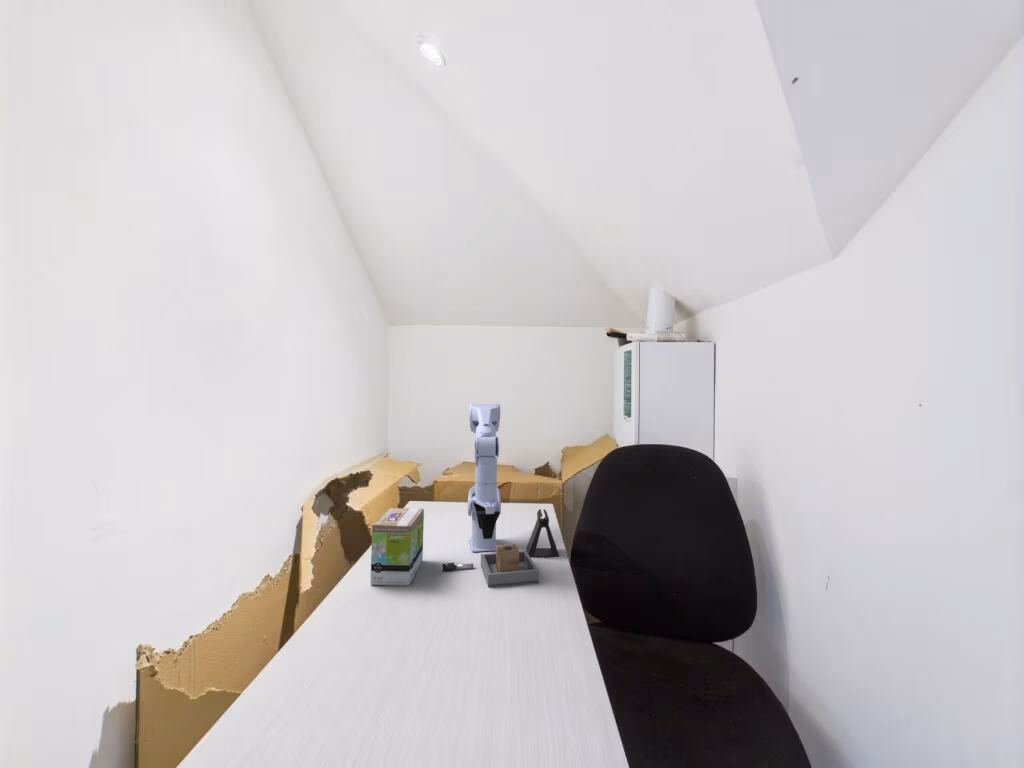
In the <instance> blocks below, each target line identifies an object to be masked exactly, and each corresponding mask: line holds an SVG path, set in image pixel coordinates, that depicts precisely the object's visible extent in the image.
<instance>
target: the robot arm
mask: <svg viewBox="0 0 1024 768" xmlns="http://www.w3.org/2000/svg"><path fill="white" fill-rule="evenodd" d="M468 421H469V428H470V431H471V432H472V433H474V434H475V439H474V440H473V442H474V443H473V448H474V449H473V457H474V467H475V469H474V470H475V473H474V474H475V475H474V476H475V477H474V478H475V479H474V480H475V481H474V483H475V484H474V485H473V486H472V487H471V488H470V489H469V490H468V495H467V496H468V497H467V515H468V516H469V517H471V538H468V543H469V547H470V550H471V552H472V553H480V552H490V551H491V552H492V551H493V552H494V551H496V545H498V543H497V542H496V541H497V522H498V521H497V520H498V519H499V518H500V515H501V513H502V512H501V511H502V497H501V490H500V488H498V486H497V483H498V481H497V480H498V458H499V454H500V440H499V436H498V435H497V432H499V428H500V423H501V422H500V421H501V405H500V404H499V403H498V402H497V403H474V402H471V403H470V404H469V419H468Z"/></svg>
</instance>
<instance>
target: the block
mask: <svg viewBox="0 0 1024 768" xmlns="http://www.w3.org/2000/svg"><path fill="white" fill-rule="evenodd" d="M519 551H520V550H519V548H518V547H517V546H516V544H515V543H511V544H510V543H509V544H497V545H496V550H495V553H496V570H497V572H498V573H499V572H511V571H519Z"/></svg>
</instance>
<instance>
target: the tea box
mask: <svg viewBox="0 0 1024 768" xmlns="http://www.w3.org/2000/svg"><path fill="white" fill-rule="evenodd" d="M424 519H425V510H424V508H409V507H407V508H406V507H405V508H401V507H400V508H398V507H395V508H394V507H389V508H388V509H387V510H386V511H385V512H384V513H383V514H382V515H381V516H380V517H379V518H378V519H377V520H376V521H375V522H374V523H373V524H372V529H371V531H372V534H371V552H370V553H371V554H370V555H371V556H370V580H369V581H370V585H373V586H374V585H375V586H410V584H411V582H412V581H413V580H414V576H416V573H417V572H418V570H419V568H420V565H421V564H422V562H423V556H424V553H423V552H424V551H423V550H424V523H425V520H424Z"/></svg>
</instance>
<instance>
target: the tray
mask: <svg viewBox="0 0 1024 768" xmlns="http://www.w3.org/2000/svg"><path fill="white" fill-rule="evenodd" d="M480 569H481V570H482V573H483V576H484V580H485V582H486V585H487V587H488V588H495V587H507V586H516V585H517V586H518V585H526V584H527V585H528V584H529V585H530V584H538V583H539V581H540V579H539V576H540V573H539V572H540V570H539V569H538V567H537V565H536V564H535V562H534V561H533V559H532V557H530V556H529V555H528V553H527V550H519V571H511V572H499V573H498V572H497V570H496V552H491V553H481V554H480Z"/></svg>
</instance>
